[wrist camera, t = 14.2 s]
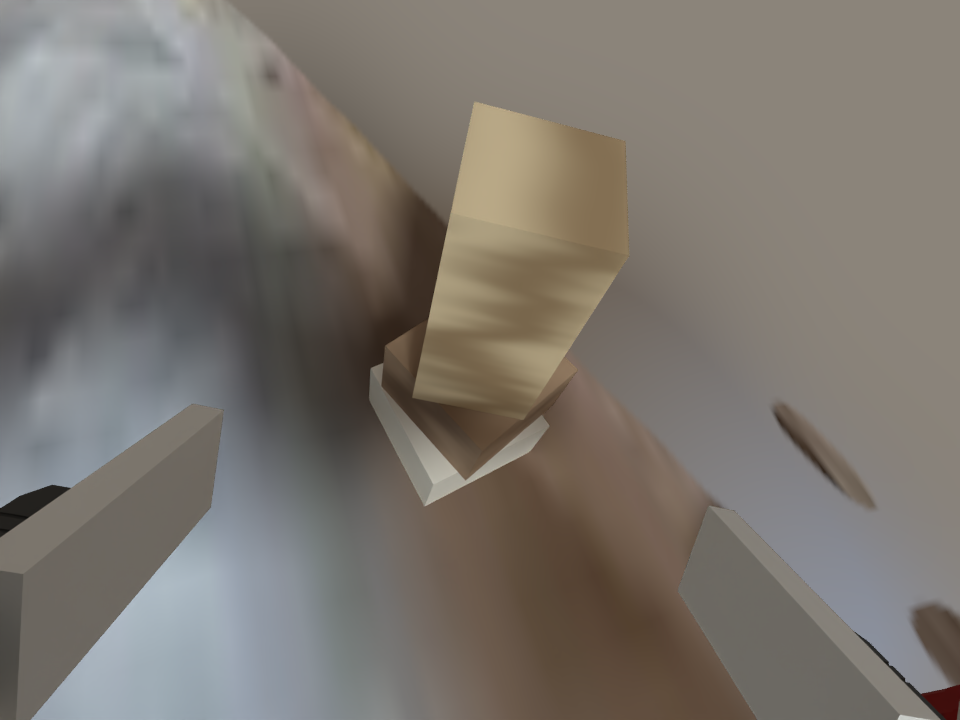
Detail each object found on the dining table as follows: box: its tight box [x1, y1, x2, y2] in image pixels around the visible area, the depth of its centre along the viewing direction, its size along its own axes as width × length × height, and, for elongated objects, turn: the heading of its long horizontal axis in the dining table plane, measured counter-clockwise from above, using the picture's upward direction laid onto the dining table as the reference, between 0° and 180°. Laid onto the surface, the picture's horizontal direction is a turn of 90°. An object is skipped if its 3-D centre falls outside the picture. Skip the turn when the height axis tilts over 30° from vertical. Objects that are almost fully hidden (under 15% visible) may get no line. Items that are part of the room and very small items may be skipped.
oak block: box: [412, 102, 629, 420], centre depth 21 cm, size 5×5×11 cm
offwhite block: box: [369, 363, 549, 506], centre depth 30 cm, size 7×7×4 cm
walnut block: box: [381, 318, 578, 481], centre depth 27 cm, size 6×6×4 cm
